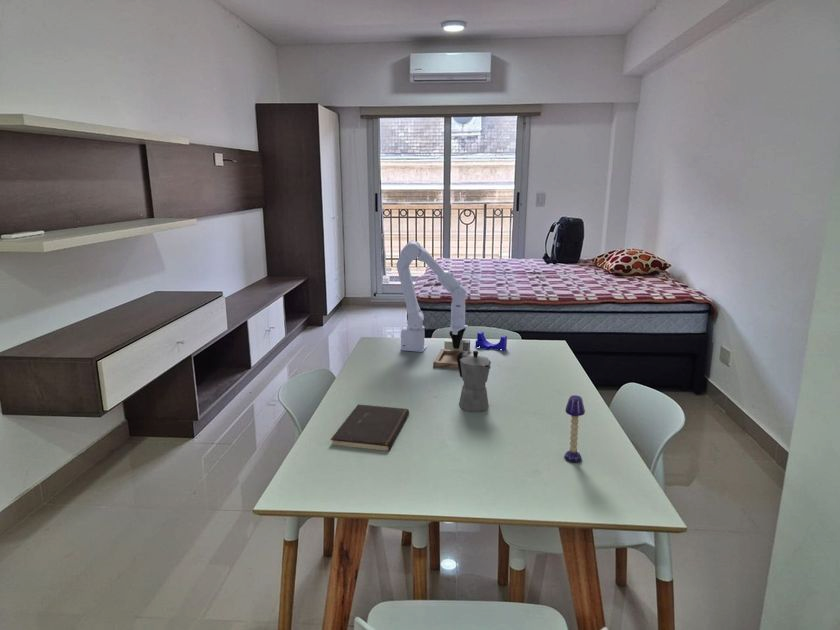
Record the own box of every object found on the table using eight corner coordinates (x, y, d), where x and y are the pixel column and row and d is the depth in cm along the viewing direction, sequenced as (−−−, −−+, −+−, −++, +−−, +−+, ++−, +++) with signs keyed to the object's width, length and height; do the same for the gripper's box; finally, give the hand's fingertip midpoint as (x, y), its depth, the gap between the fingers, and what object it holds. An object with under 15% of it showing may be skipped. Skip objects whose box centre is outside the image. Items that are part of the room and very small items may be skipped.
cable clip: (475, 347, 225) (475, 333, 224) (479, 344, 229) (480, 331, 227) (502, 352, 219) (502, 338, 218) (506, 349, 223) (507, 335, 222)
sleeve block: (444, 350, 220) (444, 341, 219) (446, 347, 224) (446, 338, 223) (468, 352, 218) (468, 342, 217) (469, 349, 222) (470, 339, 221)
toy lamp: (567, 464, 133) (573, 401, 129) (558, 455, 138) (562, 394, 134) (584, 461, 135) (590, 399, 131) (574, 452, 139) (579, 392, 135)
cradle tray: (433, 367, 201) (433, 362, 201) (441, 353, 216) (441, 349, 216) (462, 369, 199) (462, 364, 198) (468, 356, 214) (468, 351, 213)
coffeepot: (499, 410, 164) (502, 354, 160) (475, 417, 159) (477, 359, 155) (468, 393, 177) (469, 341, 172) (444, 399, 172) (445, 346, 167)
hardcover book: (330, 446, 142) (330, 439, 142) (358, 411, 164) (357, 404, 164) (389, 453, 139) (389, 445, 139) (409, 416, 161) (409, 408, 161)
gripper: (465, 319, 210) (464, 352, 213) (470, 311, 224) (469, 342, 227) (447, 318, 211) (446, 351, 215) (453, 310, 225) (452, 341, 228)
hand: (457, 346), depth 221 cm, fingers closed on sleeve block, 4 cm apart
